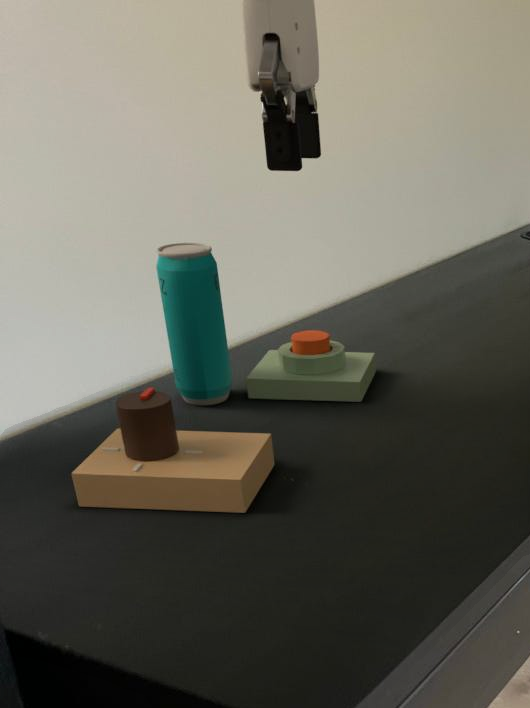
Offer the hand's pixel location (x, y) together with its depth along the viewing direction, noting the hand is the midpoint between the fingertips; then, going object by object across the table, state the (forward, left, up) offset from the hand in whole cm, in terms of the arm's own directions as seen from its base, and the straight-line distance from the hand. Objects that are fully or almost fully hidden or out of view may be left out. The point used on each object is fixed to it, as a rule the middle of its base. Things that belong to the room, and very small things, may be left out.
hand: (295, 162), depth 96 cm
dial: (-8, -27, -19) cm, 34 cm away
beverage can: (-10, -5, -22) cm, 25 cm away
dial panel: (-6, -27, -22) cm, 35 cm away
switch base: (0, 0, -22) cm, 22 cm away
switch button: (0, 0, -18) cm, 18 cm away
